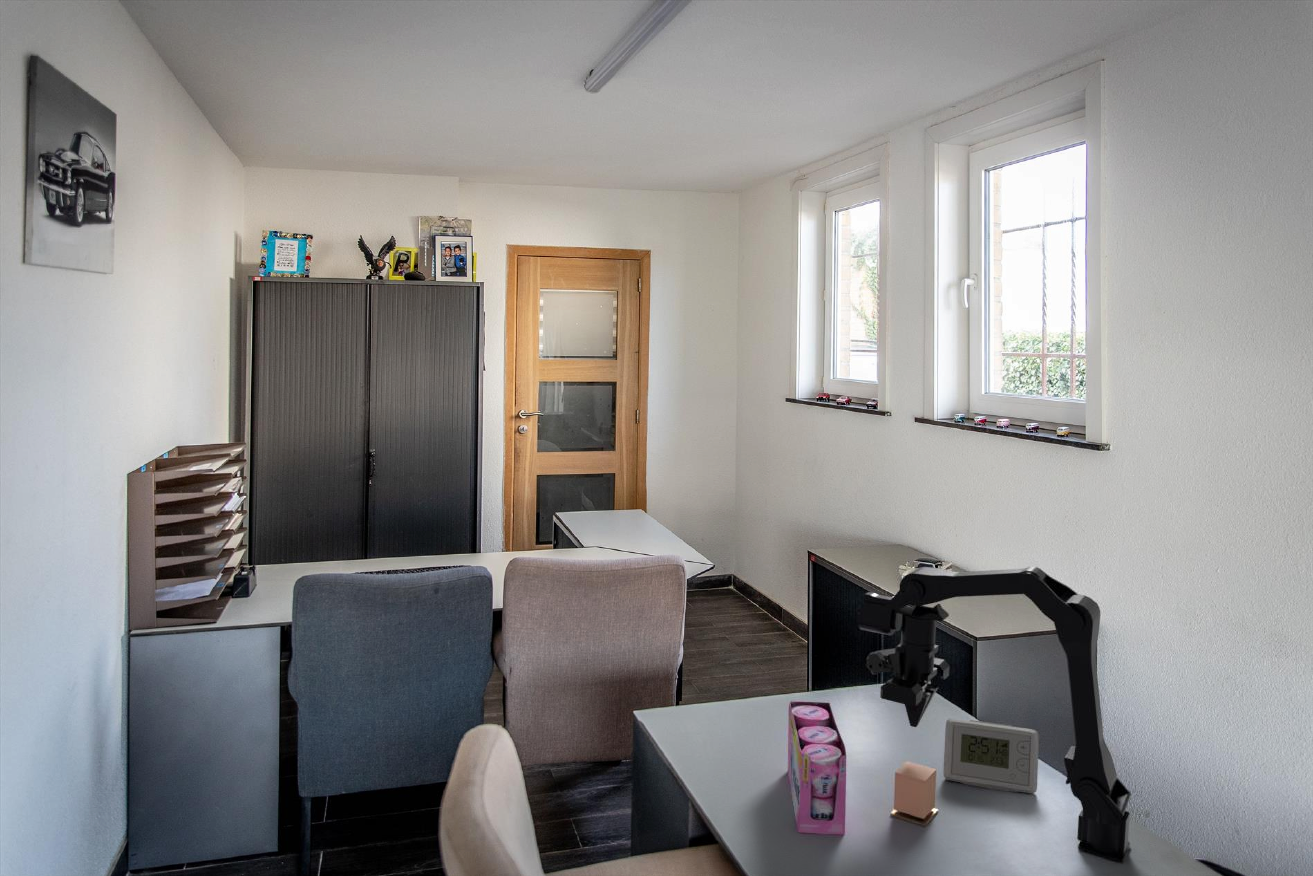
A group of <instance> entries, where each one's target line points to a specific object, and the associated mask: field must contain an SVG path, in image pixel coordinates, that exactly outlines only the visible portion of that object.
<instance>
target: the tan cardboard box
mask: <svg viewBox="0 0 1313 876" xmlns="http://www.w3.org/2000/svg"><path fill="white" fill-rule="evenodd" d="M936 783H937V769H936V768H932V767H929V766H925V765H922V764H918V763H916V762H911V761H907V760H906V761H905V762H904V763H903V764H902V765H901V766H900V767H898V769H897V770H896V771H895V772H894V794H893V795H894V797H893V810H897V811H900V812H903V813H907V814H910V815H913V816H916V817H919V818H922V819H924V818H925V817H926V816H927V815H928V814H929V813H930V811H931V810H932V809H933V808H935V807H936V789H937V788H936V787H937V784H936Z"/></svg>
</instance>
